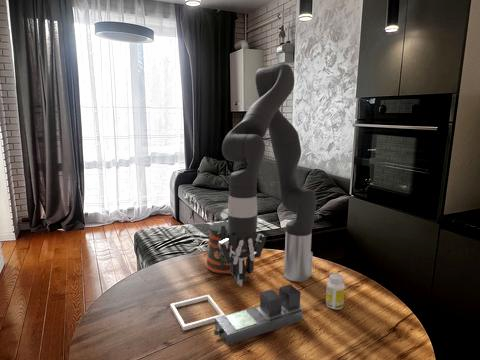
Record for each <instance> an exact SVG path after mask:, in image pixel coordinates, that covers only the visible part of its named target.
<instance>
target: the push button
mask: <svg viewBox="0 0 480 360" xmlns="http://www.w3.org/2000/svg"><path fill="white" fill-rule="evenodd" d="M235 251H236V250H235ZM249 253H250V251H249V250H248V251H247V250H242V251H241V253H240V256H239V257H238V262H237V264H238V277H236V279H237V281H236V282H237V283H236V284H237V285H238V287H243V285H244V283H245V282H246V277H247V274H246V273H247V272H246V262H245V259H246V258H247V257H248V256H249V255H250V254H249ZM233 257H234V255H233Z"/></svg>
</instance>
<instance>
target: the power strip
mask: <svg viewBox="0 0 480 360" xmlns="http://www.w3.org/2000/svg"><path fill="white" fill-rule="evenodd" d="M278 291H279V292H276V291H275V290H274V289H273V288H272V289H268V290H265V291H260V293H259V294H260V298H259V299H260V300H259V305H256V306H254V307H249V308H246V309H243V310H240V311H236V312H232V313H229V314H225V316H221V317H218V318H215V322H214V326H215V327H214V329H216V330H214V331H213V333H214V336H218V335H220V337H221V338H222V339H223V341H224V343H226V345H227V346H229V345H233V344H235V343H238V342H241V341H244V340H245V341H246V340H247V339H250V338H253V337H256V336H260V335H263V334H266V333H269V332H272V331H275V330H278V329H281V328H284V327H287V326H290V325H292V324H296V323H298V322H302V321H303V319H304V318H303V317H304V314H303V313H304V310H303V309H304V307H303V306H302V305H301V295H302V294H301V293H302V292H301V291H300V290H299V289H297V288H296V287H295V286H293V285H292V284H287V285H284V286H280V287H279V289H278Z"/></svg>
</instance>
